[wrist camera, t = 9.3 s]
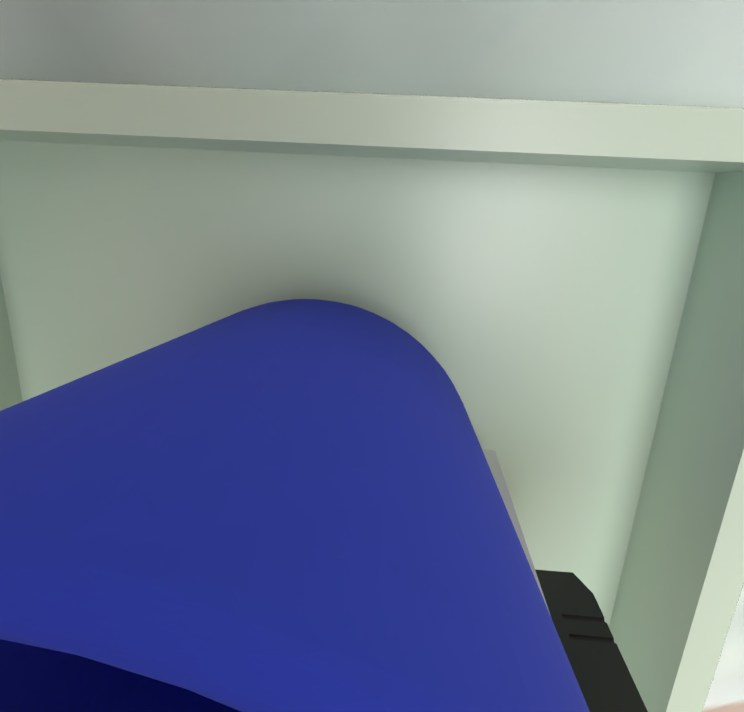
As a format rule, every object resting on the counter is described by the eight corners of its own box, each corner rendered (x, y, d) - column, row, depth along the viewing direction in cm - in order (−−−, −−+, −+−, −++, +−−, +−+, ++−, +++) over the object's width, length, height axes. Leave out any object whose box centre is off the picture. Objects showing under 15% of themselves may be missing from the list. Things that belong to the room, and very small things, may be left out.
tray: (-35, 106, 13) (-221, 70, 9) (740, 138, 12) (895, 114, 8) (62, 656, 18) (-29, 779, 14) (601, 707, 17) (656, 851, 14)
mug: (323, 697, 16) (169, 1492, 6) (100, 344, 13) (-853, 805, 3) (593, 621, 14) (969, 1561, 4) (407, 194, 11) (323, 216, 1)
